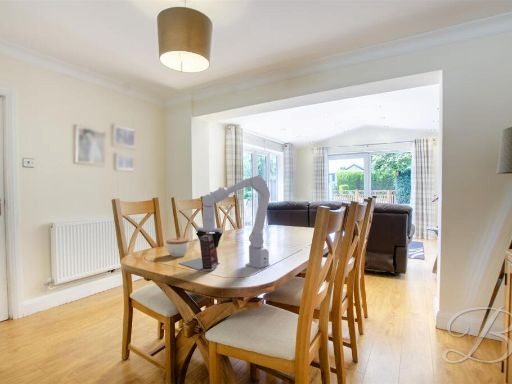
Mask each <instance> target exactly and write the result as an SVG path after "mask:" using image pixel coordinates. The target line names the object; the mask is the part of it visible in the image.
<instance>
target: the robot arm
mask: <svg viewBox="0 0 512 384" xmlns="http://www.w3.org/2000/svg"><path fill="white" fill-rule="evenodd" d="M244 188H252V189H253V190H254V191H256V193H257V194H258V195H259V199H258V202H257V203H258V205H257V209H256V215H255V219H254V224H253V227H252V231H251V232H250V235H249V237H248V239H249V240H248V241H249V242H250V244H249V245H248V262H247V263H245V266H249V267H252V268H257V269H262V268H264V267H267V266H270V261H269V257H270V255H269V250H268V249H267V248H265V247H264V241H265V240H264V237H263V235H264V227H265V221H266V216H267V212H268V207H269V201H270V197H271V192H270V190H269V187H268V184H267V181H266V180H265V179H264V178H263V177H262V176H261V175H255V176H253V177H249V178H246V179H243V180H241V181H238V182H237V183H235V184H233V185H231V186H229V187H226V186H223V187H222V186H220V187H218V189H216V190H214V191H210V192H209V194H208V193H207V194H205V195H204V196H203V197H202V200H201V201H202V204H203V205H202V208H203V209H202V226H199V227H197V226H196V227H195V232H196V233H195V234H196V236H197V238H198V240H199V241H200V239H199V238H200V237H202V236H204V235H206V234H207V233H213V238H214V247H215V248H216V249H217V248H219V243H220V240H221V237H222V236H223V233H224V228H221V227H216V214H215V213H216V211H215V203H216V204H217V203H218V204H219V203H220V202H222V201H224V200H226V199H228V198H230V195H232V194H233V193H235V192H237V191H239V190H242V189H244Z"/></svg>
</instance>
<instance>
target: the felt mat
mask: <svg viewBox="0 0 512 384" xmlns="http://www.w3.org/2000/svg"><path fill="white" fill-rule="evenodd" d="M178 265H181V266H184V267H187V268H190V269H193V270H196V271H200V270H203V265H202V257H198V258H194V259H191V260H186V261H182V262H178ZM218 265H220V262H218Z"/></svg>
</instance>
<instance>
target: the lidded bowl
mask: <svg viewBox="0 0 512 384" xmlns="http://www.w3.org/2000/svg"><path fill="white" fill-rule="evenodd" d="M189 246H190V238H187V237H179V236H176V237H174V238H169V239H166V249H167V252H168V254H169V255H170V256H171V257H173V258H180V257H184V256H185V255H186V254H187V253H188V251H189Z"/></svg>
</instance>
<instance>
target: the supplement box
mask: <svg viewBox="0 0 512 384" xmlns="http://www.w3.org/2000/svg"><path fill="white" fill-rule="evenodd" d="M213 233H214V232H209V233H206V235H204V236H202V237H200V238H198V240H199V239H200V240H199V246H200V254H201V259H202V265H203V269H202V271H203V272H211V271H213V270H214V269H215V268H217V266H219V264H218V263H219V259H218V251H217V248H215V247H214V238H213Z"/></svg>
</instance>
